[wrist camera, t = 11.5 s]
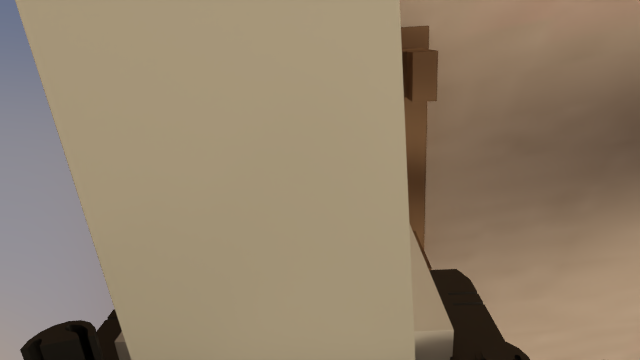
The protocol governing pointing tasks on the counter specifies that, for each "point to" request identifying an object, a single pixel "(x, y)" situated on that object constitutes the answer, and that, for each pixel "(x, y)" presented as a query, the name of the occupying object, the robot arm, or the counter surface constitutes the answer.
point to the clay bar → (238, 170)
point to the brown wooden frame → (417, 118)
